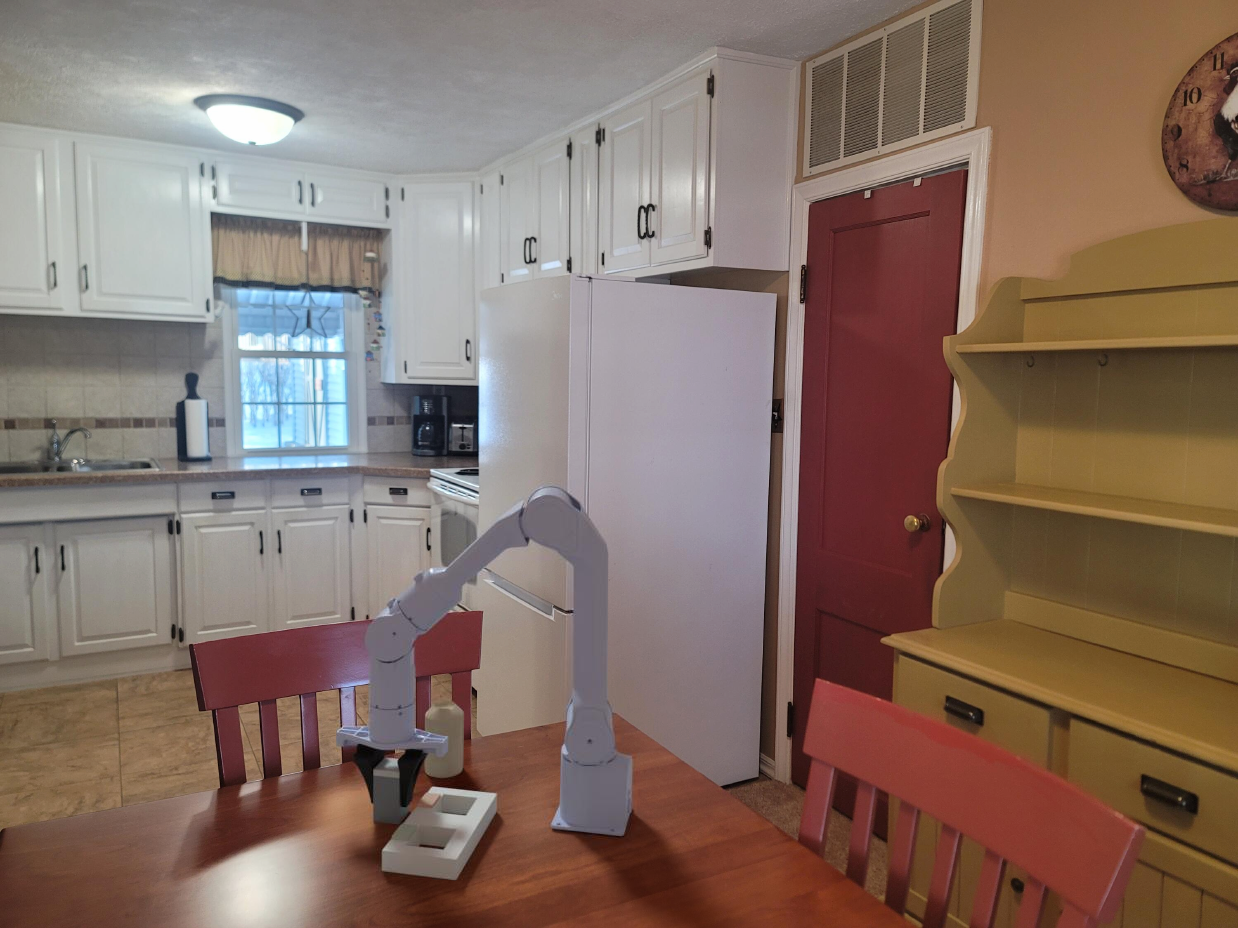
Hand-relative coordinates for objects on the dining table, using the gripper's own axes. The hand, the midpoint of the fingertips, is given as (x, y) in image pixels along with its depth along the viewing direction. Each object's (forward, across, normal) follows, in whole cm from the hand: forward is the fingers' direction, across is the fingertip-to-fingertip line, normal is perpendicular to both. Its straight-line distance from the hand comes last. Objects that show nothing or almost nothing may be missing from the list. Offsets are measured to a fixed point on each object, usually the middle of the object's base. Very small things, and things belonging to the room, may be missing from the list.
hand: (391, 801), depth 113 cm
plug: (+2, 0, 0) cm, 2 cm away
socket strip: (+2, -8, +4) cm, 10 cm away
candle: (+2, -2, -14) cm, 14 cm away
